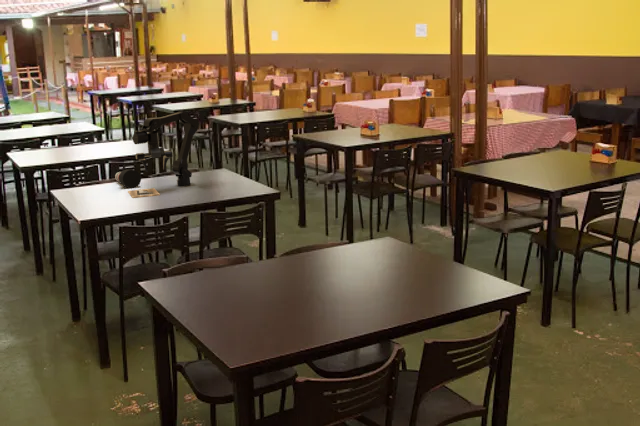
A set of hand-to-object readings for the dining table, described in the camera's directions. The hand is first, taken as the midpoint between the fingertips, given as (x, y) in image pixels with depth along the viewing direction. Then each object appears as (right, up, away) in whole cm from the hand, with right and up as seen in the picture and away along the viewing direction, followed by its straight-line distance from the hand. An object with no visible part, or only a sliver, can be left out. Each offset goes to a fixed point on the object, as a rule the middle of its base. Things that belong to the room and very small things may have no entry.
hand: (155, 171), depth 372 cm
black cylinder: (-24, -6, +29) cm, 38 cm away
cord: (-7, -12, -4) cm, 14 cm away
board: (-5, -14, -5) cm, 15 cm away
